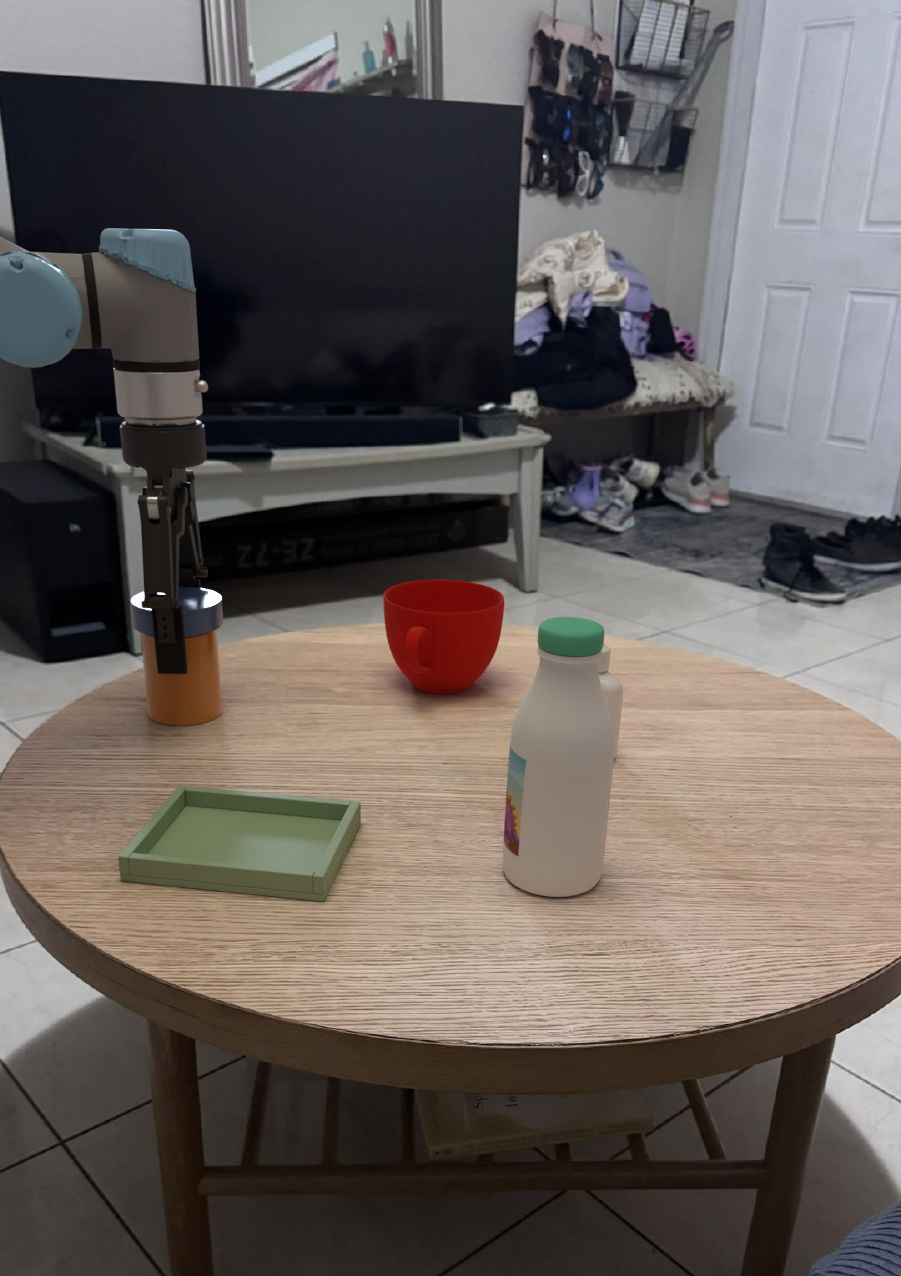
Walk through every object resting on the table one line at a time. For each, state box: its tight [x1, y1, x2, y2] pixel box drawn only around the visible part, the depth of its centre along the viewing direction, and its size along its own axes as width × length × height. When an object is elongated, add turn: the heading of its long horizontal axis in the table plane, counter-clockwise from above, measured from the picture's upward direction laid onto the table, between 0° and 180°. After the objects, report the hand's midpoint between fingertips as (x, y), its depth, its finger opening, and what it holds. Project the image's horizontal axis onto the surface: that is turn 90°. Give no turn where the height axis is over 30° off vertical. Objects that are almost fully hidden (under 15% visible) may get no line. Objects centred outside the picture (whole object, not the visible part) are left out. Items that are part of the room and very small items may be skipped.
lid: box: [129, 587, 224, 637], centre depth 109 cm, size 9×9×2 cm
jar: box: [139, 629, 223, 727], centre depth 112 cm, size 7×7×11 cm
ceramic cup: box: [382, 579, 505, 695], centre depth 120 cm, size 13×17×10 cm
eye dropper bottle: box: [598, 642, 624, 759], centre depth 105 cm, size 4×6×12 cm
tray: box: [117, 784, 362, 902], centre depth 88 cm, size 16×13×2 cm
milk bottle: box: [502, 616, 615, 898], centre depth 82 cm, size 8×8×20 cm
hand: (182, 656), depth 112 cm, fingers closed on lid, 9 cm apart
